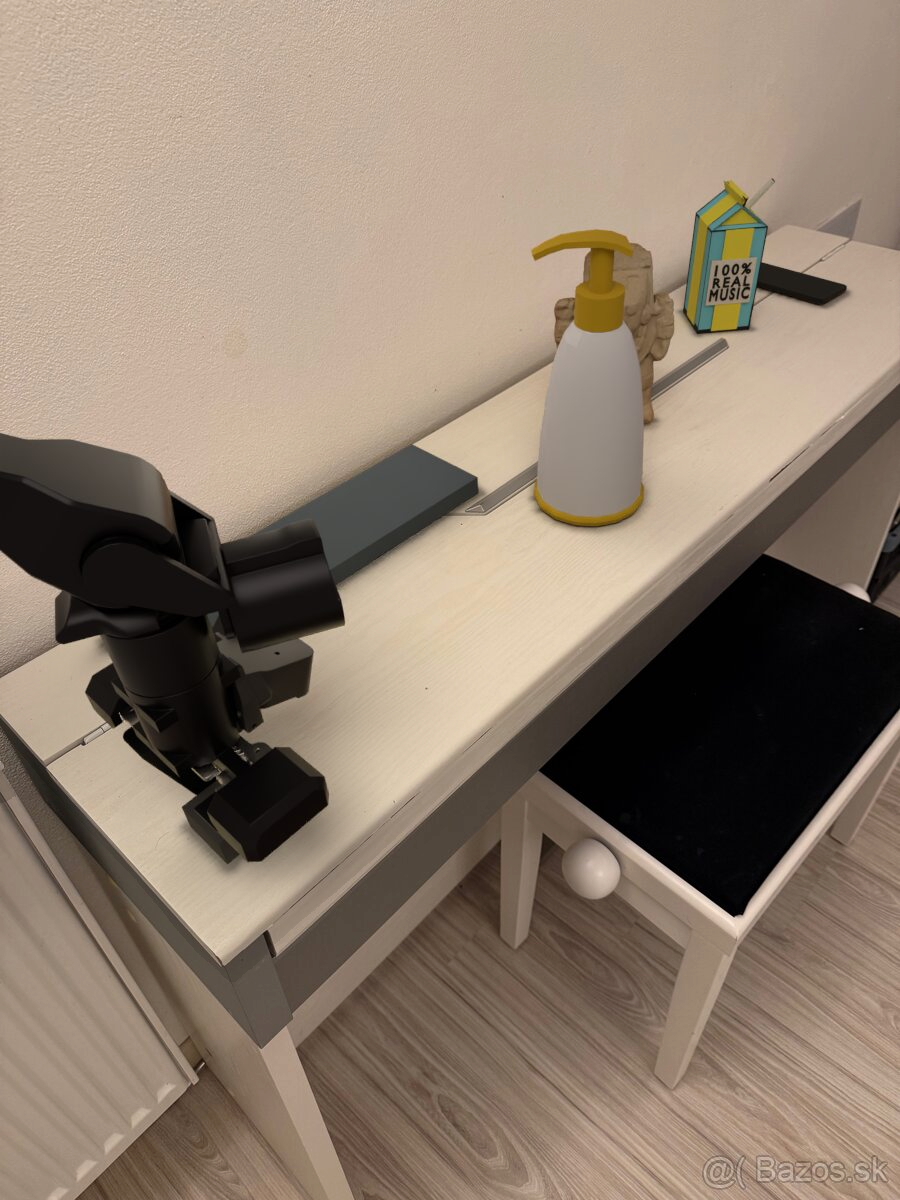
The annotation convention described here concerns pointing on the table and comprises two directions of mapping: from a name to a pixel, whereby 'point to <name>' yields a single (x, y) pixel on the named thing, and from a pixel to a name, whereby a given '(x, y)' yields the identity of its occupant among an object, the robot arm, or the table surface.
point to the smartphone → (798, 284)
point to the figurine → (633, 314)
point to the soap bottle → (592, 398)
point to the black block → (208, 826)
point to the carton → (725, 262)
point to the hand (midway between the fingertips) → (230, 814)
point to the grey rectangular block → (381, 508)
